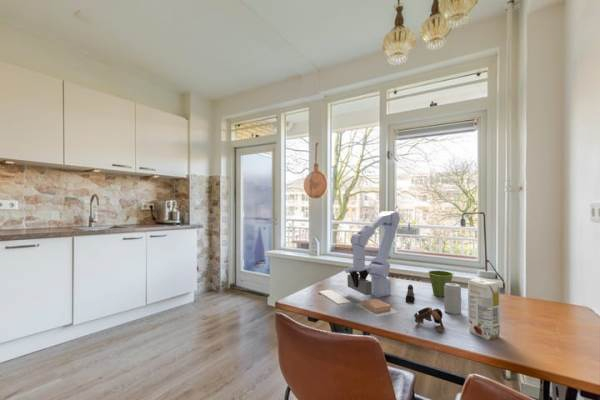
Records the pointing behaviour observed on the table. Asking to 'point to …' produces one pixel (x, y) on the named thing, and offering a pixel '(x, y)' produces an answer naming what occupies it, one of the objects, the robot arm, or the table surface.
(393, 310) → the mat
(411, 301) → the hand tool
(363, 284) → the dark grey block
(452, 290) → the beverage can
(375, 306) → the tile
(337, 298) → the tool rest
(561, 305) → the table surface
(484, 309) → the juice carton
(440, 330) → the brown toy animal
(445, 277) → the plant pot
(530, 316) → the table surface
